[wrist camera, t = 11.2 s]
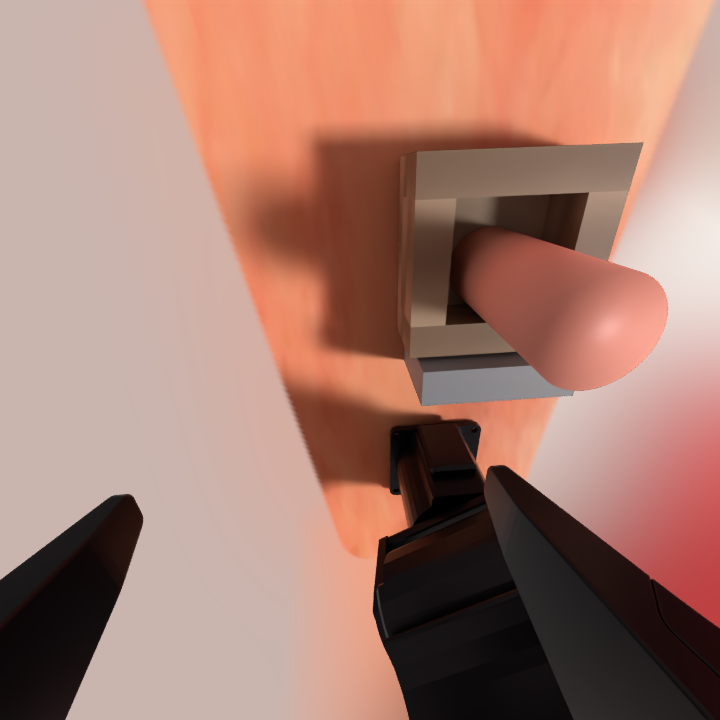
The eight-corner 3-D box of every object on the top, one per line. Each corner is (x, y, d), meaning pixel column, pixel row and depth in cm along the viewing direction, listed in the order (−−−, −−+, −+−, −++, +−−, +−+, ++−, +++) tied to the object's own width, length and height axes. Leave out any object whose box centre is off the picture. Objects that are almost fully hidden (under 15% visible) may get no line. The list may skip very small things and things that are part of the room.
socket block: (542, 320, 21) (581, 347, 18) (397, 328, 21) (409, 358, 17) (581, 149, 17) (643, 142, 13) (400, 156, 17) (417, 151, 13)
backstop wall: (525, 352, 22) (572, 395, 18) (404, 360, 22) (421, 406, 18) (532, 323, 21) (583, 362, 17) (405, 331, 21) (423, 372, 17)
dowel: (529, 224, 17) (690, 265, 10) (514, 299, 19) (639, 386, 11) (451, 228, 17) (550, 273, 9) (444, 303, 19) (523, 394, 11)
